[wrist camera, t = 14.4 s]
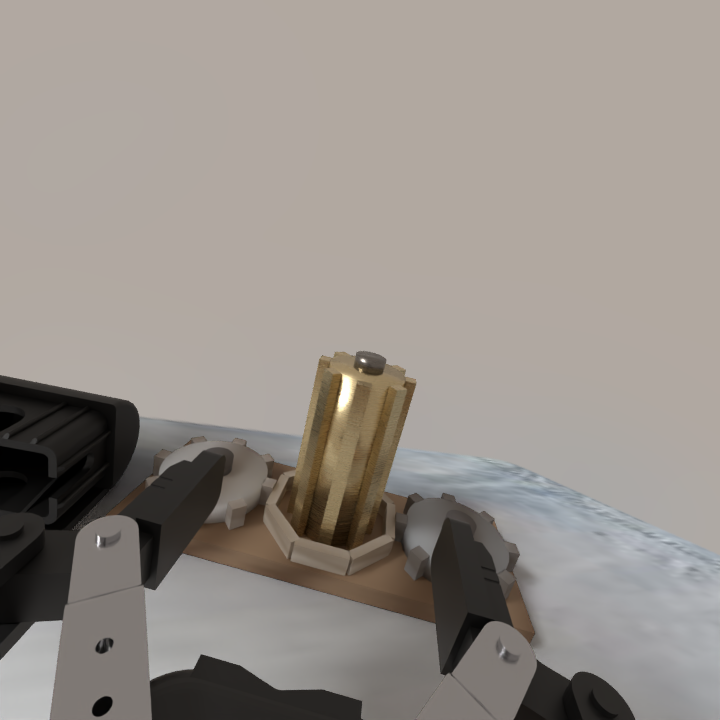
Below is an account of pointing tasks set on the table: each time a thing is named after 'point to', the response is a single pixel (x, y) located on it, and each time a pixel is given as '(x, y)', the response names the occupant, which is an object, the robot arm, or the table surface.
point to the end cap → (61, 449)
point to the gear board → (327, 563)
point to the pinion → (348, 447)
